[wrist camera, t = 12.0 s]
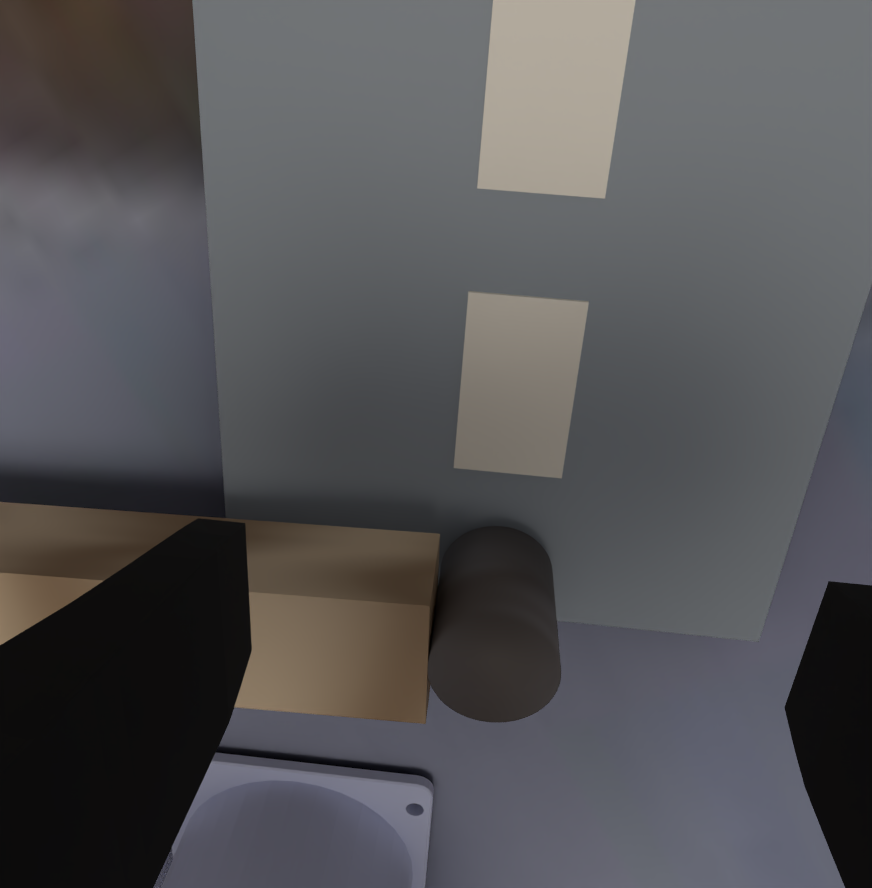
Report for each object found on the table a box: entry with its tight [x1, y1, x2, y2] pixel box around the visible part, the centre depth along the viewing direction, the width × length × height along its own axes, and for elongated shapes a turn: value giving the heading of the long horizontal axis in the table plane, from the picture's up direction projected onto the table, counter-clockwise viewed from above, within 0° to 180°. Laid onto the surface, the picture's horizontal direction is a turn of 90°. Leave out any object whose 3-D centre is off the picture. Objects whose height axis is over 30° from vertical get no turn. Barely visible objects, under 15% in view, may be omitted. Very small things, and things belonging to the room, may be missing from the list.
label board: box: [193, 0, 872, 642], centre depth 16 cm, size 15×13×1 cm
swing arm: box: [0, 502, 561, 724], centre depth 17 cm, size 16×3×3 cm, turn 88°
